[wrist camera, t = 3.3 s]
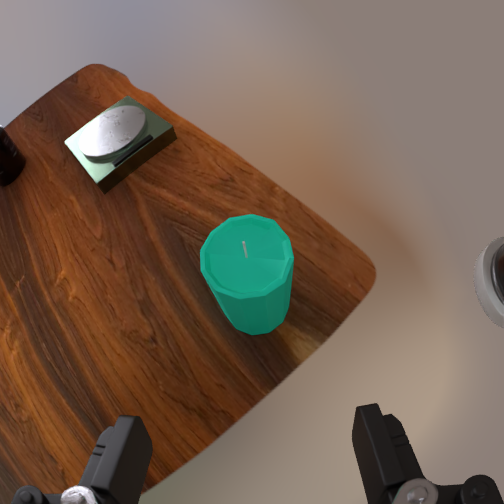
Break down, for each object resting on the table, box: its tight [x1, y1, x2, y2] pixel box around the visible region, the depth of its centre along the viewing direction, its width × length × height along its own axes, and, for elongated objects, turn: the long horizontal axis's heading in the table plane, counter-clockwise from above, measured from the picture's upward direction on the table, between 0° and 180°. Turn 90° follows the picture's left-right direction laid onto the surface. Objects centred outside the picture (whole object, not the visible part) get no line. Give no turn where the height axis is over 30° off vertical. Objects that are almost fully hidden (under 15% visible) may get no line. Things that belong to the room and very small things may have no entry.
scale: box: [65, 96, 177, 194], centre depth 40 cm, size 13×12×3 cm
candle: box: [200, 214, 294, 335], centre depth 24 cm, size 6×6×12 cm
